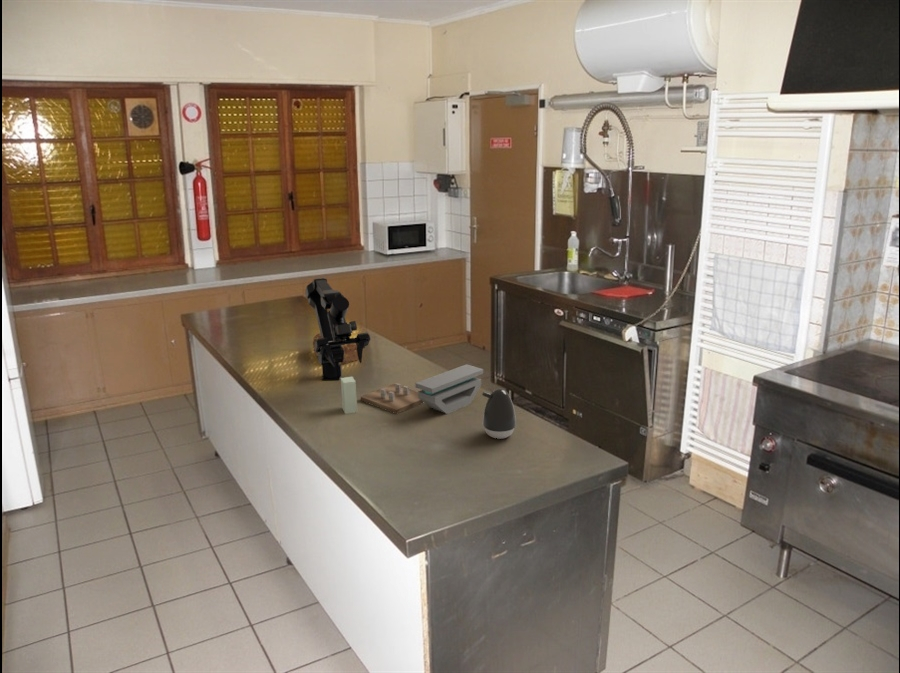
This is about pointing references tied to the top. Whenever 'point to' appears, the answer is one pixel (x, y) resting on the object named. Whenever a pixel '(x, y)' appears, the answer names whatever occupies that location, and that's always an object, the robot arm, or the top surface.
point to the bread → (349, 349)
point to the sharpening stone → (450, 388)
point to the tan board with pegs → (393, 398)
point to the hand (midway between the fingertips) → (347, 364)
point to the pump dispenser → (499, 414)
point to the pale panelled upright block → (348, 395)
